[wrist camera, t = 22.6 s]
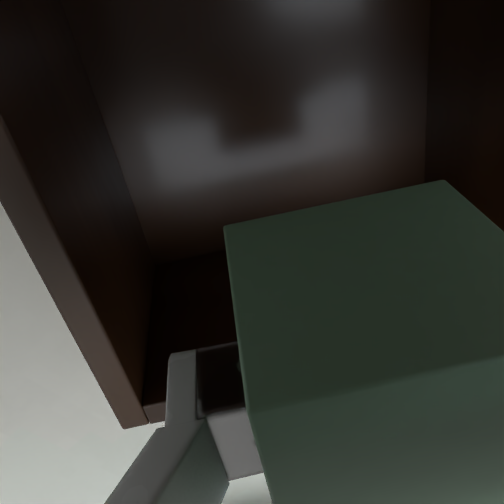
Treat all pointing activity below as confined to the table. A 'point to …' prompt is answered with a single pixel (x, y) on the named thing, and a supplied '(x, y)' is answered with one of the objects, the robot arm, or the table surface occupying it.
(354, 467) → the soap block
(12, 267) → the table surface
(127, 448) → the table surface
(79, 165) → the chest
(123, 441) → the table surface
